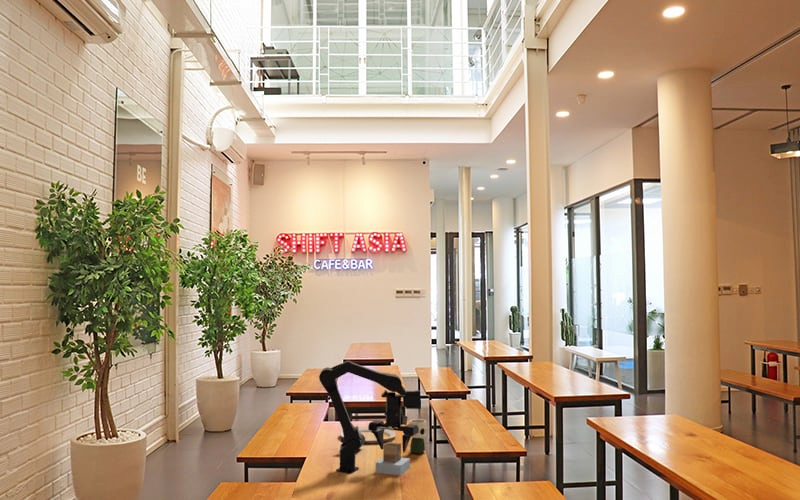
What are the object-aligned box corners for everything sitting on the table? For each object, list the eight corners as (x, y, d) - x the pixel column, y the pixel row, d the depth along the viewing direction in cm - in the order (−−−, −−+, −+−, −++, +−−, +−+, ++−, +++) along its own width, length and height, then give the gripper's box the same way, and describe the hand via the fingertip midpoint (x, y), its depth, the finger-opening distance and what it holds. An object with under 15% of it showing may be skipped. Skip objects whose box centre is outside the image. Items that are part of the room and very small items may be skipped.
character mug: (420, 457, 251) (420, 424, 251) (404, 454, 254) (404, 422, 254) (430, 450, 260) (430, 419, 261) (415, 448, 263) (415, 417, 264)
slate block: (400, 476, 226) (400, 465, 227) (375, 473, 230) (375, 462, 230) (409, 469, 236) (410, 458, 236) (385, 466, 239) (385, 455, 240)
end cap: (356, 455, 253) (356, 438, 253) (340, 453, 255) (340, 436, 255) (365, 448, 262) (365, 432, 262) (349, 447, 264) (349, 431, 265)
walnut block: (395, 462, 230) (395, 446, 230) (383, 461, 232) (383, 445, 232) (400, 459, 235) (401, 443, 235) (388, 457, 237) (389, 441, 237)
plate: (330, 442, 273) (330, 437, 273) (352, 429, 297) (352, 424, 297) (385, 447, 265) (385, 442, 266) (402, 433, 290) (403, 429, 290)
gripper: (424, 407, 238) (424, 448, 237) (381, 402, 245) (380, 442, 245) (412, 412, 227) (412, 456, 227) (367, 408, 235) (367, 449, 235)
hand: (393, 450), depth 233 cm, fingers open, 9 cm apart
